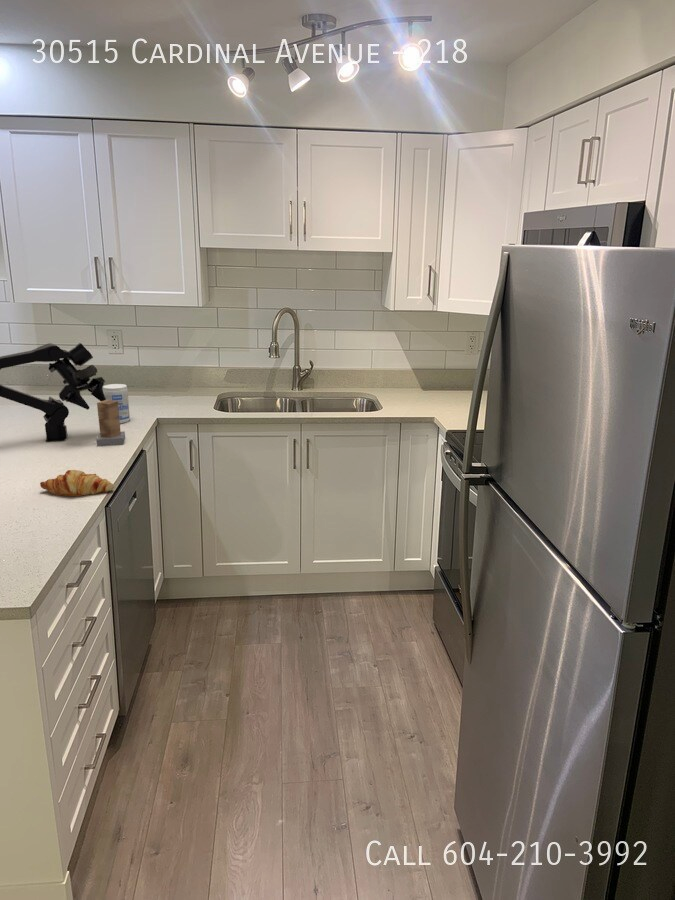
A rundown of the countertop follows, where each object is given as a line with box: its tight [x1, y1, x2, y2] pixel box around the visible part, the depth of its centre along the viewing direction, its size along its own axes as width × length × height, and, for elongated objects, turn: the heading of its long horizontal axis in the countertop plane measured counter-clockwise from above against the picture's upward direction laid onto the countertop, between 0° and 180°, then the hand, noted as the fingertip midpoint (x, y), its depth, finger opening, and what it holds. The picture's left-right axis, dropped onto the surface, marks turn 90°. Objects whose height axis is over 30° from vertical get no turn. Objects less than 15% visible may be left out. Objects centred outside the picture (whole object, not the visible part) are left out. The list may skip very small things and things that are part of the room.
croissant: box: [39, 469, 115, 497], centre depth 190 cm, size 21×10×8 cm, turn 93°
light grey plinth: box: [96, 431, 126, 447], centre depth 238 cm, size 9×9×2 cm
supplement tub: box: [102, 383, 131, 424], centre depth 264 cm, size 10×10×15 cm
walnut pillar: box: [96, 400, 122, 438], centre depth 235 cm, size 5×5×12 cm
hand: (97, 405), depth 236 cm, fingers open, 9 cm apart
